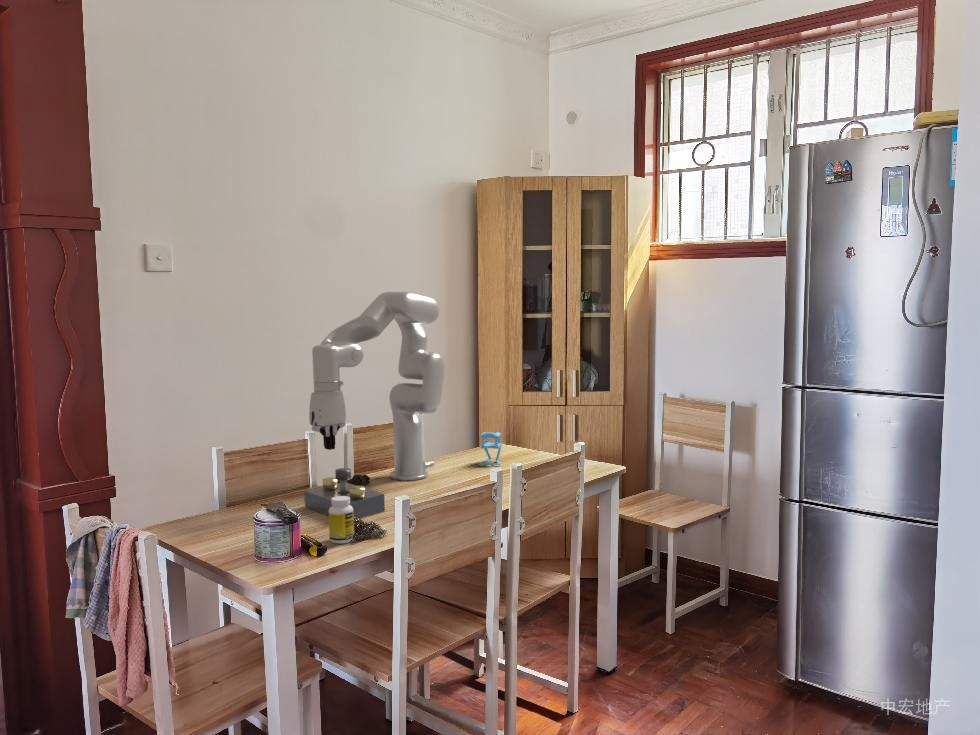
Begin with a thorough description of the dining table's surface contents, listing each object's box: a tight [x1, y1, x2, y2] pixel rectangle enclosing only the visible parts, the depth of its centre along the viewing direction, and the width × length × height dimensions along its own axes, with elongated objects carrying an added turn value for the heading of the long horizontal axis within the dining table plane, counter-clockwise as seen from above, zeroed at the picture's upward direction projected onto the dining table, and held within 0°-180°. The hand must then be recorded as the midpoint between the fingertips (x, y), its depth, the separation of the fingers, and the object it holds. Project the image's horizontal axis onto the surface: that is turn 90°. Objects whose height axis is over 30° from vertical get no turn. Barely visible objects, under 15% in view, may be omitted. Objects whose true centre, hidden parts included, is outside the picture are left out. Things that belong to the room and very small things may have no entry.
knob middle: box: [334, 467, 352, 495], centre depth 230 cm, size 4×4×8 cm
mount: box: [304, 483, 385, 519], centre depth 230 cm, size 14×20×5 cm
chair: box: [478, 431, 503, 468], centre depth 285 cm, size 8×8×12 cm
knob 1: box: [322, 476, 338, 490], centre depth 235 cm, size 4×4×8 cm
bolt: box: [338, 474, 371, 487], centre depth 252 cm, size 6×5×15 cm
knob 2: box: [350, 485, 366, 499], centre depth 225 cm, size 4×4×8 cm
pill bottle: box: [328, 496, 355, 545], centre depth 202 cm, size 6×6×11 cm
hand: (329, 448), depth 234 cm, fingers closed
